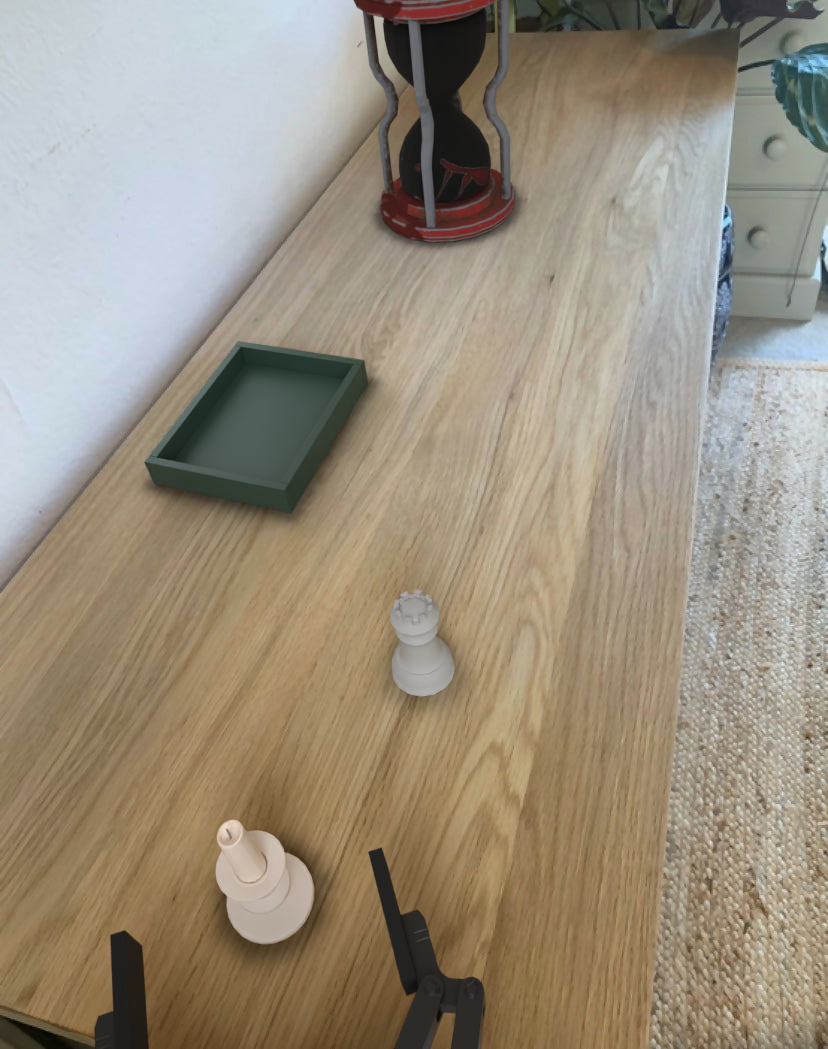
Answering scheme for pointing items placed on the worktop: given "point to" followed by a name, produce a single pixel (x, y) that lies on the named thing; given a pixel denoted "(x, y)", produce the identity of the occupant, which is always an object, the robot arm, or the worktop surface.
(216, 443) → the tray
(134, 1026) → the robot arm
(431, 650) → the rook chess piece
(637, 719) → the worktop surface
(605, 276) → the worktop surface
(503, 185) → the hourglass
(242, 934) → the candle
